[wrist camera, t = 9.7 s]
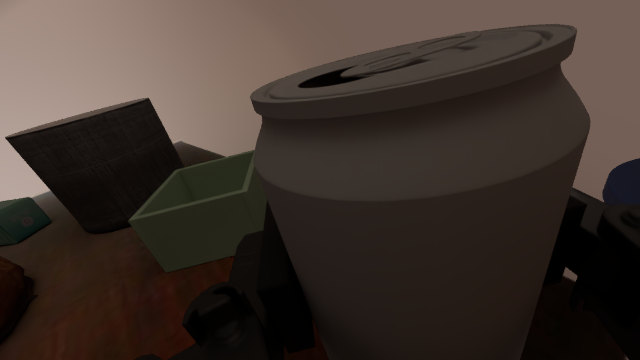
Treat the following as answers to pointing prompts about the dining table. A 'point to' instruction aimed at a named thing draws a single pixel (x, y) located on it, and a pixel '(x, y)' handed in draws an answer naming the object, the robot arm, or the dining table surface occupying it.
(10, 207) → the box
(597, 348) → the dining table surface
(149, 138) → the planter
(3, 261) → the bread
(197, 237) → the waste bin
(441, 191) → the beverage can
